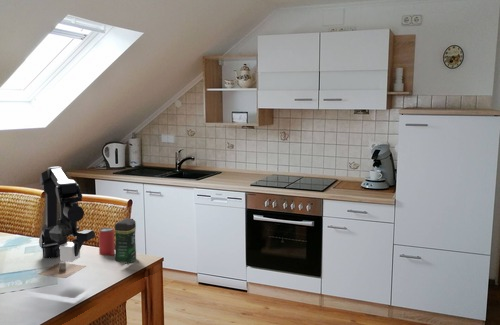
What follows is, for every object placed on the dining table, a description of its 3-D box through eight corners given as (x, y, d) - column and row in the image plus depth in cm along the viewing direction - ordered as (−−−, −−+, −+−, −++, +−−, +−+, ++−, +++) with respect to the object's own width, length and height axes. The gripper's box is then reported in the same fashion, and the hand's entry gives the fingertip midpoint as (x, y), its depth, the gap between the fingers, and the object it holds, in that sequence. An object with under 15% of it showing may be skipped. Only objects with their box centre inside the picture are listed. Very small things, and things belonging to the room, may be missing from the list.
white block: (60, 260, 170) (59, 245, 169) (68, 256, 174) (68, 241, 174) (71, 262, 168) (71, 247, 168) (80, 257, 173) (79, 242, 172)
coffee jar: (130, 265, 193) (129, 223, 190) (112, 264, 194) (111, 222, 191) (138, 257, 202) (138, 217, 199) (121, 256, 203) (120, 216, 200)
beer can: (110, 258, 201) (109, 232, 199) (96, 256, 202) (95, 230, 200) (117, 253, 207) (116, 227, 206) (104, 251, 209) (103, 226, 207)
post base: (37, 277, 179) (37, 266, 178) (59, 265, 191) (59, 255, 190) (66, 281, 175) (65, 270, 175) (86, 269, 188) (86, 259, 187)
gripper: (31, 218, 164) (34, 259, 166) (76, 223, 159) (78, 265, 161) (52, 211, 174) (54, 249, 177) (95, 215, 169) (96, 255, 172)
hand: (70, 255), depth 171 cm, fingers closed on white block, 5 cm apart
